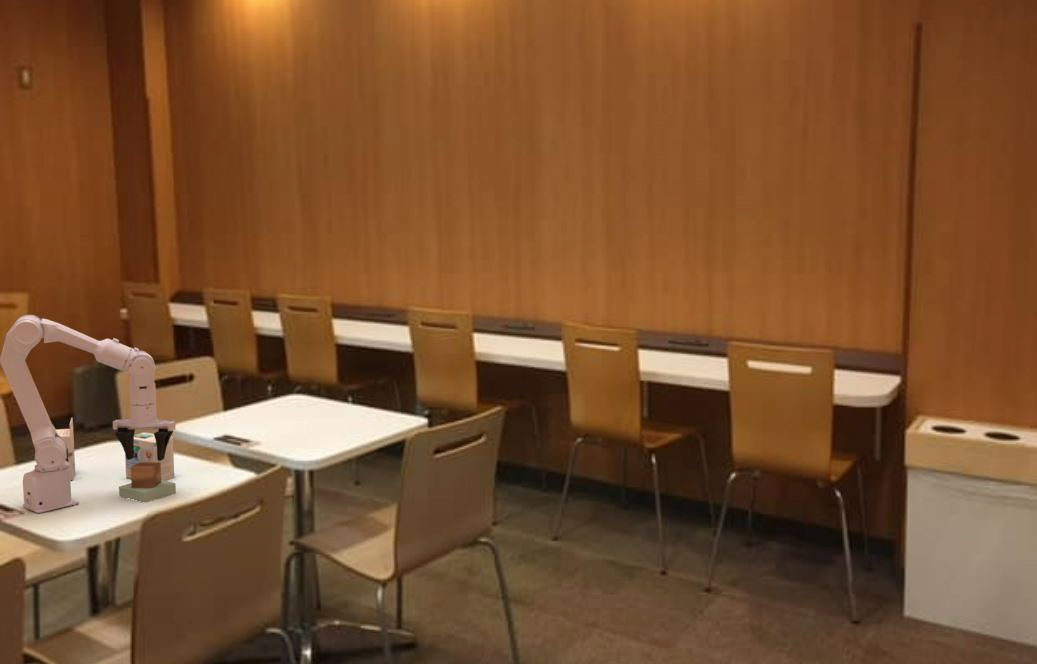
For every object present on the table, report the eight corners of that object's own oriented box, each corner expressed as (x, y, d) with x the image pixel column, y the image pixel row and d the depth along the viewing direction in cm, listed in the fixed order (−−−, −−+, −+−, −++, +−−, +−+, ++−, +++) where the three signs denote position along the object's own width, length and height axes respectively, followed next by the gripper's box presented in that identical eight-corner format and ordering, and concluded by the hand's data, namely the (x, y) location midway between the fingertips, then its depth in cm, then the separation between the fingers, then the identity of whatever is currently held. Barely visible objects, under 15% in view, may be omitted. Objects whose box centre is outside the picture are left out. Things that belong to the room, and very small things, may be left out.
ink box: (55, 474, 245) (51, 418, 243) (76, 472, 247) (72, 416, 245) (52, 482, 237) (48, 425, 235) (74, 480, 239) (70, 423, 237)
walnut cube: (152, 488, 224) (151, 467, 224) (131, 487, 224) (130, 467, 224) (161, 482, 229) (160, 462, 228) (141, 481, 229) (140, 461, 229)
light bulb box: (125, 478, 241) (123, 437, 240) (146, 472, 247) (144, 431, 246) (154, 484, 236) (152, 441, 235) (175, 477, 242) (174, 436, 241)
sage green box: (144, 504, 221) (144, 492, 221) (119, 498, 226) (118, 486, 225) (176, 495, 229) (175, 483, 229) (151, 489, 234) (150, 477, 233)
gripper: (180, 400, 228) (182, 455, 230) (122, 399, 229) (124, 454, 231) (167, 406, 221) (169, 463, 223) (107, 405, 222) (109, 461, 224)
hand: (145, 459), depth 226 cm, fingers open, 7 cm apart
